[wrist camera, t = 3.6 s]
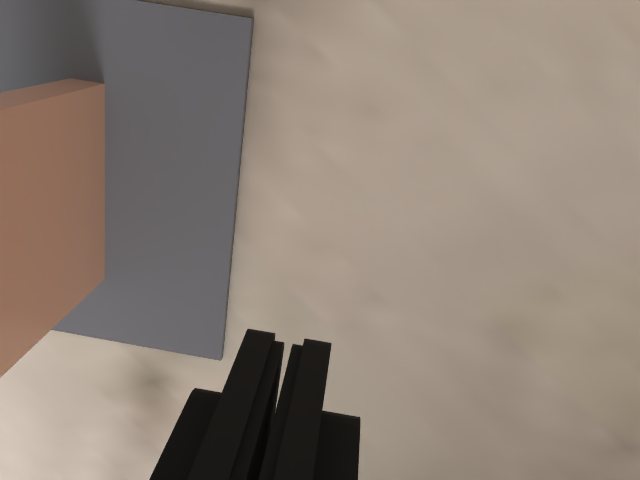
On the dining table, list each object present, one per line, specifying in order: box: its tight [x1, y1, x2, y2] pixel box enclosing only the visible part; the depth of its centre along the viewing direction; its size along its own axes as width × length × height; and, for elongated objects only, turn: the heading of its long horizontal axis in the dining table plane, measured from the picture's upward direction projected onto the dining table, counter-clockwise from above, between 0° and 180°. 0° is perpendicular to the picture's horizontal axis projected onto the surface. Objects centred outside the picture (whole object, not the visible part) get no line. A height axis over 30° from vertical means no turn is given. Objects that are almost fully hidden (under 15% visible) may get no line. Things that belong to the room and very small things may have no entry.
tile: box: [0, 78, 105, 377], centre depth 19 cm, size 2×8×8 cm, turn 172°
